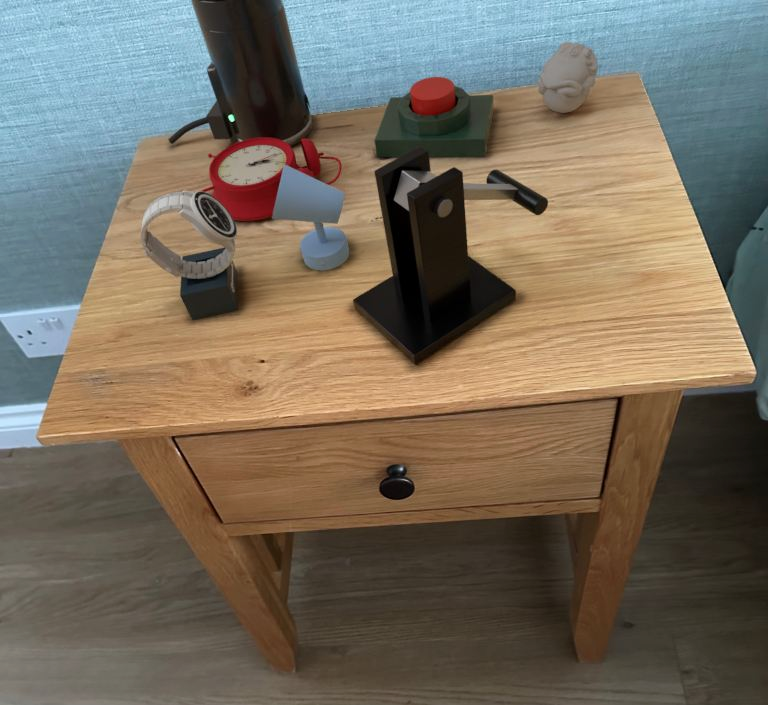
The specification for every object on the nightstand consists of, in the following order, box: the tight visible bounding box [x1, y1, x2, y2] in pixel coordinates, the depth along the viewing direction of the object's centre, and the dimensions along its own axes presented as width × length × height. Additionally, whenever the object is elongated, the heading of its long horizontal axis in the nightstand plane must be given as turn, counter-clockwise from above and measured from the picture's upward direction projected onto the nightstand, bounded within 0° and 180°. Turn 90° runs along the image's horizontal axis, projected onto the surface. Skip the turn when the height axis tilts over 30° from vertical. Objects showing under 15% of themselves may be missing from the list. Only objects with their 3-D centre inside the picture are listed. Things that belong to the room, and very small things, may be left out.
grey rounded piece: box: [537, 41, 599, 114], centre depth 76 cm, size 6×7×7 cm
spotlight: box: [271, 164, 350, 271], centre depth 64 cm, size 5×10×7 cm
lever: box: [394, 168, 549, 216], centre depth 55 cm, size 13×6×2 cm, turn 126°
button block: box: [374, 85, 495, 158], centre depth 77 cm, size 12×9×4 cm
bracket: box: [352, 146, 517, 366], centre depth 56 cm, size 11×9×14 cm
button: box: [409, 76, 456, 115], centre depth 76 cm, size 5×5×2 cm
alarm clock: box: [200, 137, 343, 222], centre depth 74 cm, size 10×6×15 cm
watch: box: [140, 189, 239, 321], centre depth 62 cm, size 6×8×11 cm
